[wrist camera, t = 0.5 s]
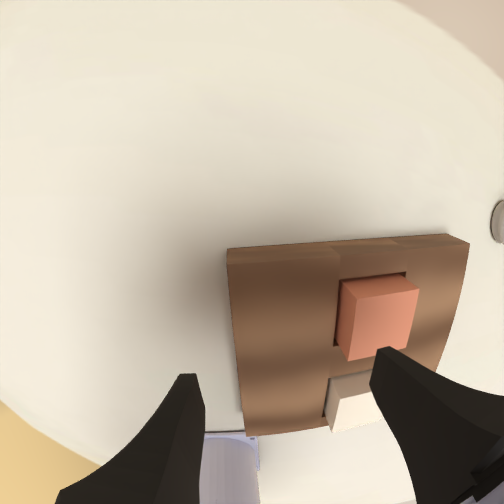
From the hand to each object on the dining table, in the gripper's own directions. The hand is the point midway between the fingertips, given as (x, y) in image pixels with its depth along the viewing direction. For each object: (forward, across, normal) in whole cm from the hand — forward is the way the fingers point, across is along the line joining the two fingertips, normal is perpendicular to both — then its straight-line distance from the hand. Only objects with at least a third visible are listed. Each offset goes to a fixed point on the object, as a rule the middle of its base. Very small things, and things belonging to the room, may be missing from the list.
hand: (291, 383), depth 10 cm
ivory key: (+8, -7, +9) cm, 14 cm away
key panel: (+10, -7, +5) cm, 13 cm away
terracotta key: (+8, -7, +1) cm, 11 cm away
